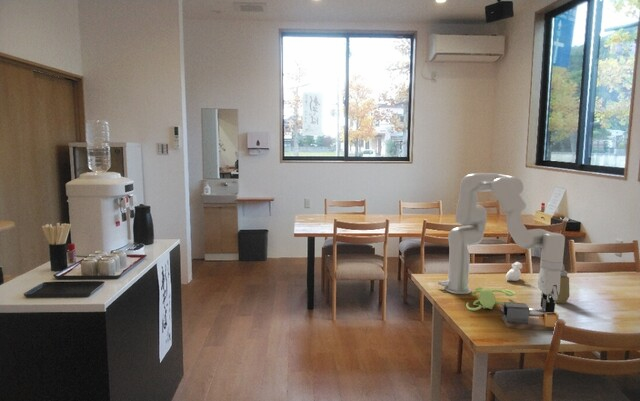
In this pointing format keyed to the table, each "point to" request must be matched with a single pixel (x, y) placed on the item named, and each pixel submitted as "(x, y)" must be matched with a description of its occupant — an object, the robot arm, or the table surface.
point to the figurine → (488, 298)
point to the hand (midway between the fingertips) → (547, 309)
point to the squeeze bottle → (563, 287)
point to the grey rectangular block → (540, 310)
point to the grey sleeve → (516, 313)
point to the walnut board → (529, 325)
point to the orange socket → (549, 319)
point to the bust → (514, 272)
